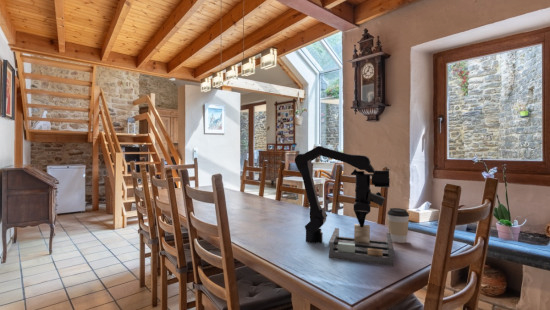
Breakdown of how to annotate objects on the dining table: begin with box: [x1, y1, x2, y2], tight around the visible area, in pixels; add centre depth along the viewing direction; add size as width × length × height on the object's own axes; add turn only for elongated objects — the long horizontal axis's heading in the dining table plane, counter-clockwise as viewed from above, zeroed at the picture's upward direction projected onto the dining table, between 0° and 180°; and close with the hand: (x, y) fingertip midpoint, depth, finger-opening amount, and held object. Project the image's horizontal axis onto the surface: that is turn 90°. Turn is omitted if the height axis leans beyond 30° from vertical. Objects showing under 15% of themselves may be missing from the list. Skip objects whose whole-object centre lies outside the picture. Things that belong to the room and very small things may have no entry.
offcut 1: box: [338, 242, 355, 253], centre depth 109 cm, size 6×2×5 cm, turn 72°
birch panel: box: [353, 223, 371, 243], centre depth 121 cm, size 6×2×9 cm, turn 72°
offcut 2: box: [368, 248, 383, 256], centre depth 106 cm, size 5×2×4 cm, turn 72°
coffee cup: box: [386, 207, 410, 244], centre depth 130 cm, size 9×9×15 cm
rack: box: [328, 227, 395, 267], centre depth 114 cm, size 22×20×7 cm
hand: (362, 224), depth 120 cm, fingers open, 9 cm apart
